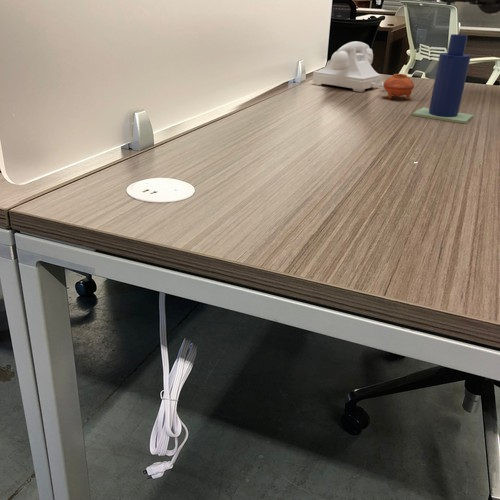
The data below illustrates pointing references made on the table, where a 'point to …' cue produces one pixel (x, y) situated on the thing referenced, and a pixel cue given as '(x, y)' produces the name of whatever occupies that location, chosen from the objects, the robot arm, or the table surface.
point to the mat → (459, 118)
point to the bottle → (450, 78)
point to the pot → (398, 85)
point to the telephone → (350, 68)
